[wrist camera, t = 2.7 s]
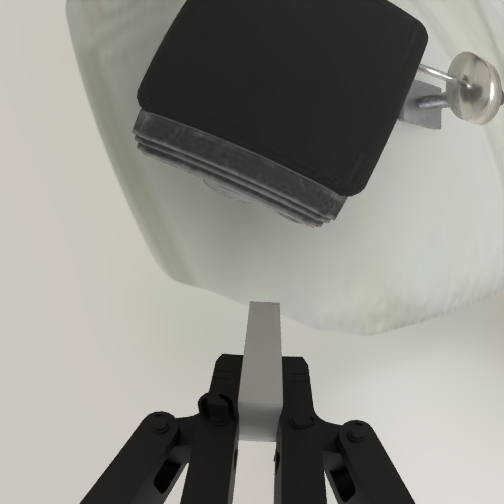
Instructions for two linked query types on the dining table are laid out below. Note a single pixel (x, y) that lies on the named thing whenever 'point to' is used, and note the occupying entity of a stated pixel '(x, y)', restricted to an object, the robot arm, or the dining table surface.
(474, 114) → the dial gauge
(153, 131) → the camera
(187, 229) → the dining table surface
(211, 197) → the dining table surface
